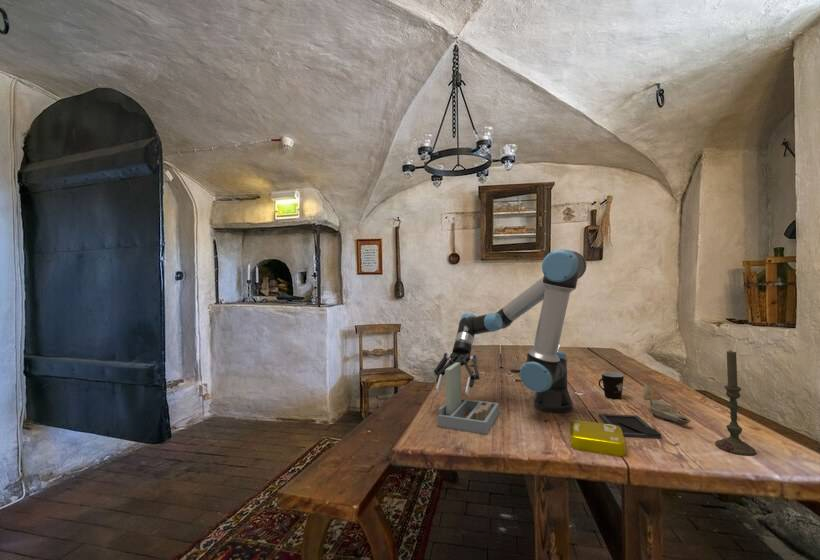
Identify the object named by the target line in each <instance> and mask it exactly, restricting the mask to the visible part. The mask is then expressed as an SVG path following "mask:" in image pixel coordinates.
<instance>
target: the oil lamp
mask: <svg viewBox="0 0 820 560" xmlns="http://www.w3.org/2000/svg"><path fill="white" fill-rule="evenodd" d="M642 394H643V399H644V401H649V403H650V405H649V409H650V411H651V412H652V414H654V416H656V417H657V418H659V419H662V420H667V421H672V422H675V423H678V424H681V425H685V426H686V425H688V424H689V423H690V422H691V420H690V419H689V418H688V417H685V416H684V415H681V410H679V409H678V408H677V407H676V406H673V405H671V404H670V405H669V404H663V403H660V402H659V400H663V397H662V395H661V394H660V393H659V392H658V391H657V389H654V387H652V386H650V385H649V384H648V383H647V382H646V383H645V384H644V387H643V393H642Z"/></svg>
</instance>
